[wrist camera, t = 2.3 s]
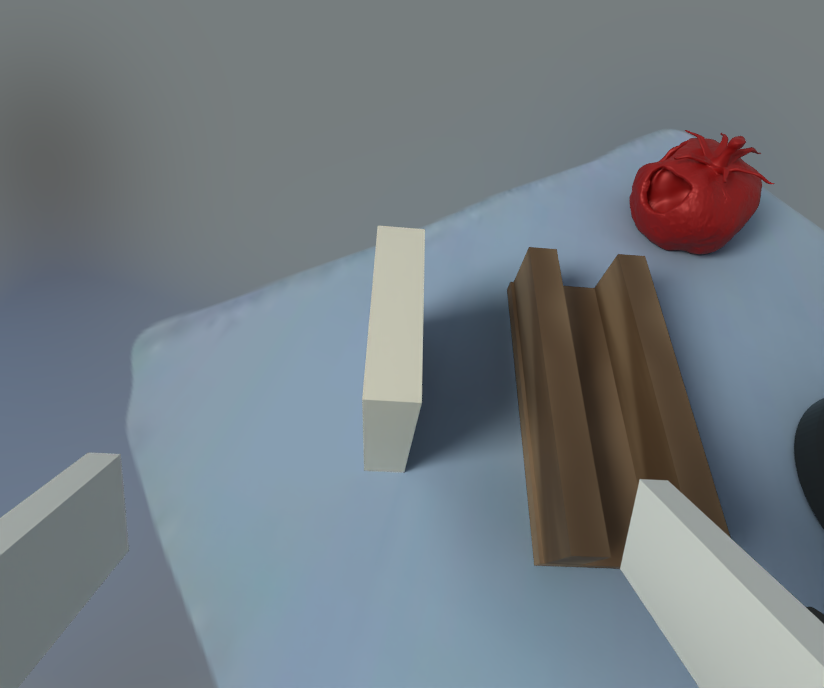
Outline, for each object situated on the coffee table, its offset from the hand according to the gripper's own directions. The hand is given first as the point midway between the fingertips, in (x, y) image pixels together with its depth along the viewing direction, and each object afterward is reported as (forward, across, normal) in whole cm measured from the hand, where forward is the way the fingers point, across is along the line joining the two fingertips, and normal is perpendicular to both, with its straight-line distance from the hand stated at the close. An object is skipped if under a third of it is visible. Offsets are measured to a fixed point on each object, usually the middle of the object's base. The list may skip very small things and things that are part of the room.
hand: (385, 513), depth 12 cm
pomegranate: (+33, +25, +9) cm, 42 cm away
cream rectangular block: (+19, 0, -4) cm, 20 cm away
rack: (+19, +14, -4) cm, 24 cm away
